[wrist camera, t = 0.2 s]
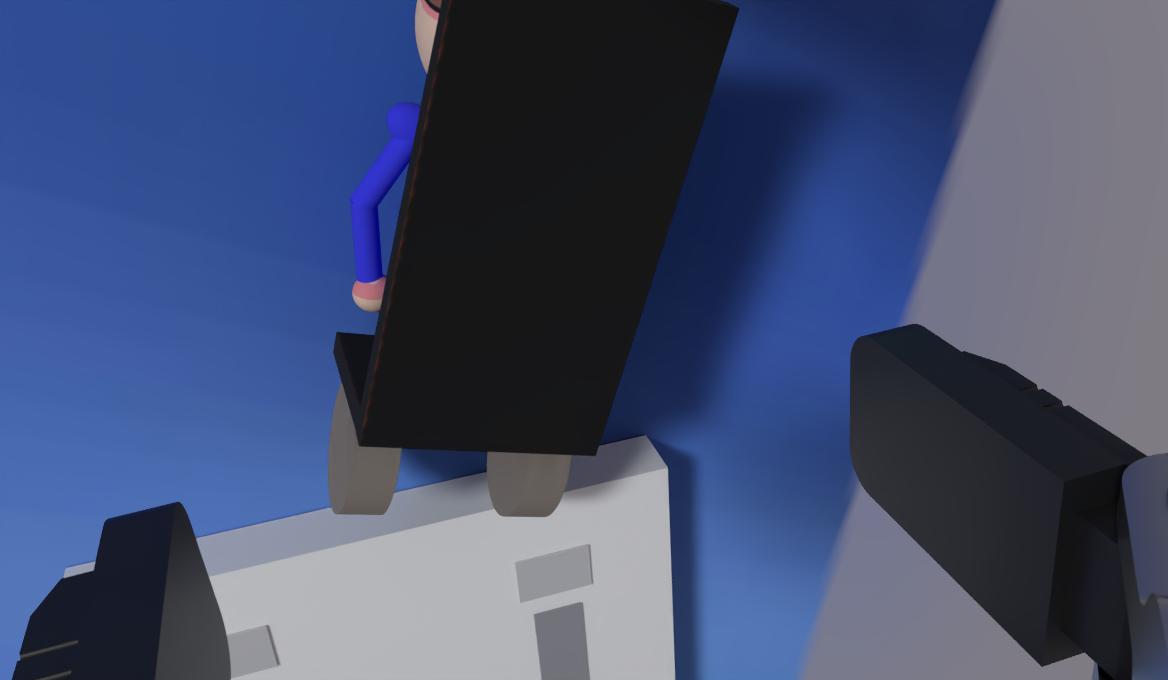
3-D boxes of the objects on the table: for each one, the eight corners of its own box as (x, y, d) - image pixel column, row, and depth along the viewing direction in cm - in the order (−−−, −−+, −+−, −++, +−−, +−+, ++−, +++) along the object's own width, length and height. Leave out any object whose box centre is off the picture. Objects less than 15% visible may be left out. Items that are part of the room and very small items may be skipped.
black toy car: (516, 406, 34) (648, -67, 27) (576, 573, 28) (769, 15, 20) (305, 394, 31) (388, -131, 24) (319, 573, 25) (435, -60, 18)
